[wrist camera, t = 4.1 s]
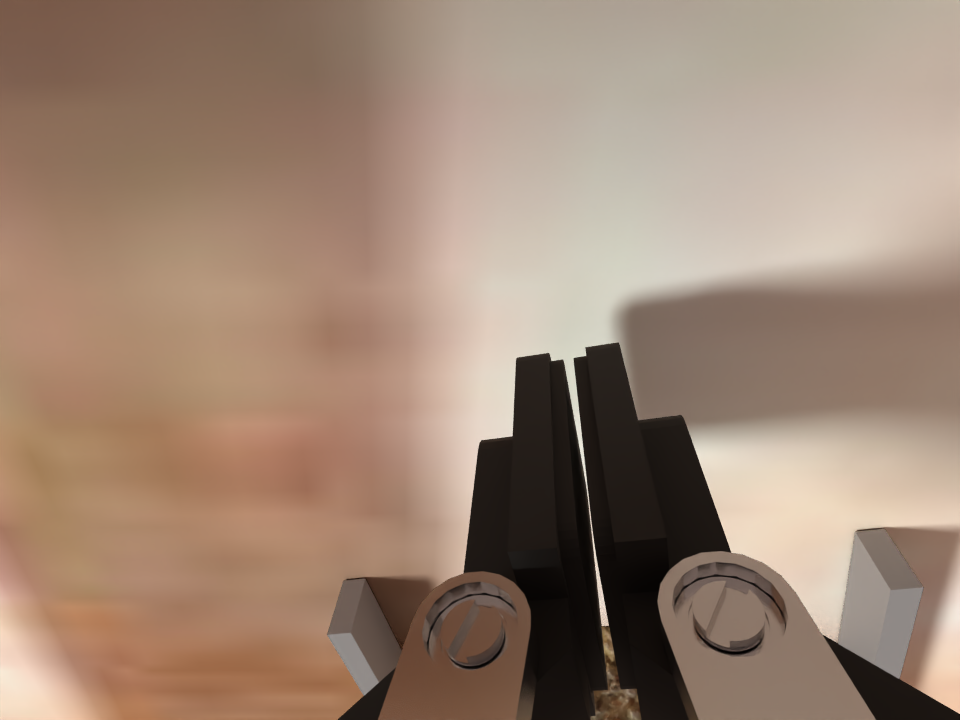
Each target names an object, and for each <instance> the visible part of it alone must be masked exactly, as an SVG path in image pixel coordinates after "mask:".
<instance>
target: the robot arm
mask: <svg viewBox="0 0 960 720" xmlns="http://www.w3.org/2000/svg"><path fill="white" fill-rule="evenodd" d="M585 348H586V355H587V356H584V357H577V358H574V367H575V376H576V385H577V394H578V403H579V412H580V421H581V430H582V439H583V448H584V457H585V466H586V475H587V484H588V493H589V502H590V511H591V520H592V529H593V536H594V543H595V550H596V556H597V562H598V568H599V573H600V579H601V584H602V590H603V595H604V601H605V606H606V612H607V617H608V622H609V628H610V633H611V639H612V644H613V650H614V655H615V661H616V666H617V672H618V677H619V683H620V688H621V690H622V689H637V695H638V701H639V707H640V714H641V720H960V714H959V713H957V712H955V711H953V710H952V709H950V708H948V707H947V706H945V705H943V704H941V703H940V702H938V701H936V700H934V699H933V698H931V697H929V696H928V695H926V694H924V693H922V692H921V691H919V690H917V689H915V688H914V687H912V686H910V685H909V684H907V683H905V682H903V681H902V680H900V679H898V678H896V677H895V676H893V675H891V674H890V673H888V672H886V671H884V670H883V669H881V668H879V667H877V666H876V665H874V664H872V663H871V662H869V661H867V660H865V659H864V658H862V657H860V656H858V655H857V654H855V653H853V652H852V651H850V650H848V649H846V648H845V647H843V646H841V645H839V644H838V643H836V642H834V641H833V640H831V639H829V638H827V637H826V636H824V635H822V633H821V632H820V630H819V629H818V627H817V625H816V624H815V622H814V621H813V619H812V618H811V616H810V614H809V613H808V611H807V610H806V608H805V606H804V605H803V603H802V602H801V600H800V598H799V597H798V595H797V594H796V592H795V591H794V590H793V589H792V587H791V586H790V585H789V584H788V583H787V582H786V580H785V579H784V578H783V577H782V576H781V575H780V574H778V573H777V572H776V571H774V570H773V569H771V568H770V567H768V566H767V565H766V564H764V563H762V562H760V561H757V560H755V559H752V558H750V557H747V556H745V555H742V554H736V553H731V551H730V548H729V545H728V542H727V539H726V536H725V534H724V531H723V528H722V525H721V522H720V519H719V517H718V514H717V511H716V508H715V505H714V502H713V500H712V497H711V494H710V491H709V488H708V485H707V482H706V480H705V477H704V474H703V471H702V468H701V465H700V463H699V460H698V457H697V454H696V451H695V448H694V446H693V443H692V440H691V437H690V434H689V431H688V429H687V426H686V423H685V421H684V418H683V417H682V416H681V415H678V416H670V417H662V418H654V419H647V420H639V421H638V418H637V414H636V410H635V406H634V402H633V398H632V394H631V390H630V386H629V382H628V377H627V373H626V369H625V365H624V361H623V357H622V353H621V349H620V345H619V343H612V344H605V345H598V346H592V347H585ZM600 690H608V683H607V673H606V663H605V654H604V645H603V636H602V626H601V617H600V608H599V599H598V589H597V580H596V571H595V562H594V552H593V543H592V534H591V525H590V515H589V506H588V497H587V490H586V483H585V477H584V471H583V466H582V460H581V454H580V449H579V443H578V438H577V432H576V427H575V421H574V415H573V410H572V404H571V399H570V393H569V388H568V382H567V376H566V371H565V365H564V361H563V360H557V361H551V357H550V354H549V353H546V354H539V355H532V356H526V357H519V358H517V359H516V376H515V398H514V421H513V436H512V437H505V438H497V439H489V440H482V441H481V442H480V444H479V449H478V456H477V465H476V473H475V482H474V490H473V498H472V507H471V515H470V524H469V532H468V541H467V549H466V558H465V566H464V574H461V575H458V576H456V577H453V578H450V579H448V580H446V581H445V582H444V583H442V584H441V585H439V586H438V587H436V588H435V589H433V590H432V591H431V592H430V594H429V595H428V596H427V597H426V598H425V599H424V600H423V601H422V602H421V604H420V606H419V608H418V610H417V612H416V614H415V616H414V618H413V620H412V622H411V625H410V628H409V631H408V634H407V637H406V640H405V643H404V646H403V649H402V651H401V654H400V657H399V660H398V663H397V666H396V668H394V669H393V670H392V671H391V672H390V673H389V674H388V675H387V676H386V677H384V678H383V679H382V680H381V681H380V682H379V683H378V684H377V685H376V686H374V687H373V688H372V689H371V690H370V691H369V692H368V693H367V694H366V695H364V696H363V697H362V698H361V699H360V700H359V701H358V702H357V703H356V704H354V705H353V706H352V707H351V708H350V709H349V710H348V711H347V712H346V713H344V714H343V715H342V716H341V717H340V718H339V719H338V720H591V717H590V716H596V713H595V702H594V691H600Z"/></svg>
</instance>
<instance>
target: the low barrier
mask: <svg viewBox="0 0 960 720" xmlns="http://www.w3.org/2000/svg"><path fill="white" fill-rule="evenodd" d="M923 588H924V587H923V586H922V584H921V583H920V581H919V580H918V578H917V577H916V575H915V574H914V572H913V571H912V569H911V568H910V566H909V565H908V563H907V562H906V560H905V559H904V557H903V556H902V554H901V553H900V551H899V550H898V548H897V547H896V545H895V544H894V542H893V541H892V539H891V538H890V536H889V535H888V533H887V532H886V530H885V529H877V530H867V531H856V532H855V536H854V542H853V549H852V555H851V562H850V568H849V574H848V581H847V587H846V594H845V600H844V606H843V613H842V619H841V626H840V632H839V638H838V644H839V645H841V646H843V647H845V648H846V649H848V650H850V651H852V652H853V653H855V654H857V655H858V656H860V657H862V658H864V659H865V660H867V661H869V662H871V663H872V664H874V665H876V666H877V667H879V668H881V669H883V670H884V671H886V672H888V673H890V674H891V675H893V676H895V677H896V678H898V679H900V675H901V672H902V668H903V664H904V660H905V656H906V653H907V649H908V645H909V641H910V637H911V634H912V630H913V626H914V622H915V618H916V615H917V611H918V607H919V603H920V599H921V596H922V592H923ZM327 635H328V637H329V639H330V640H331V642H332V644H333V645H334V647H335V649H336V650H337V652H338V654H339V655H340V657H341V659H342V660H343V662H344V664H345V665H346V667H347V669H348V670H349V672H350V674H351V675H352V677H353V679H354V680H355V682H356V683H357V685H358V687H359V688H360V690H361V692H362V693H363V695H366V694H367V693H368V692H369V691H370V690H371V689H372V688H373V687H374V686H376V685H377V684H378V683H379V682H380V681H381V680H382V679H383V678H384V677H386V676H387V675H388V674H389V673H390V672H391V671H392V670H393V669H394V668H396V666H397V663H398V660H399V657H400V654H401V651H402V650H401V648H400V646H399V644H398V642H397V640H396V638H395V636H394V634H393V632H392V630H391V628H390V626H389V624H388V622H387V620H386V618H385V616H384V615H383V613H382V611H381V609H380V607H379V605H378V603H377V601H376V599H375V597H374V595H373V593H372V591H371V589H370V587H369V585H368V583H367V581H366V579H355V580H345V581H343V584H342V587H341V591H340V594H339V597H338V600H337V604H336V607H335V610H334V614H333V617H332V620H331V623H330V627H329V630H328V633H327Z"/></svg>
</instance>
